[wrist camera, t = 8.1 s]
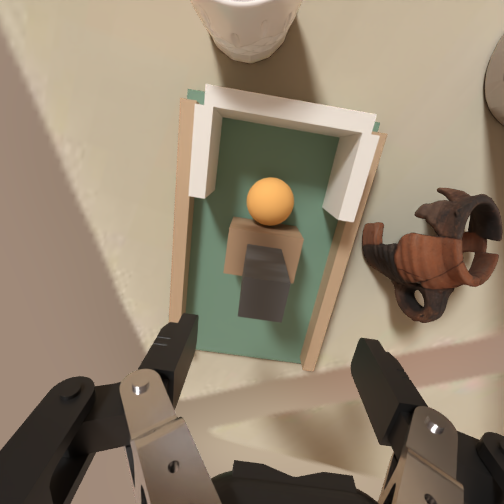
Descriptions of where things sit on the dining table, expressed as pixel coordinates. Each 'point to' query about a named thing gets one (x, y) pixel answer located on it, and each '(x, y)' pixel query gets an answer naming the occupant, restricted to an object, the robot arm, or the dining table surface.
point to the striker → (263, 266)
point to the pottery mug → (437, 252)
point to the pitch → (235, 204)
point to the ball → (270, 201)
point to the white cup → (247, 25)
